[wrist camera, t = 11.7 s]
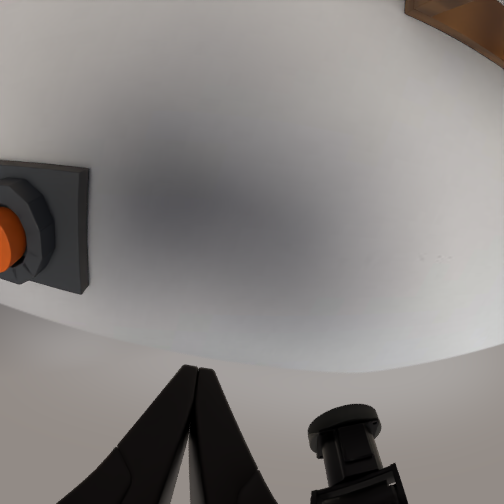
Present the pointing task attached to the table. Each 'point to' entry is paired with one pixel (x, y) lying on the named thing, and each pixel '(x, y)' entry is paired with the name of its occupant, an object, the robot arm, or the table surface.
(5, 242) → the button
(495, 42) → the wooden cabinet
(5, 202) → the dark button base
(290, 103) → the table surface
